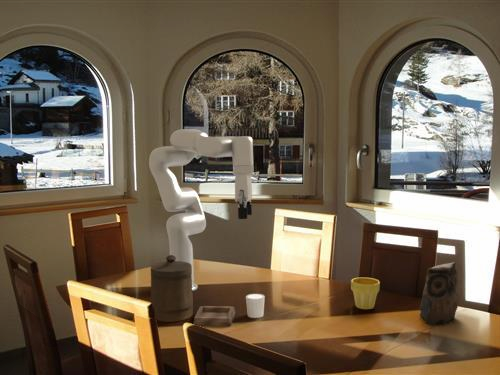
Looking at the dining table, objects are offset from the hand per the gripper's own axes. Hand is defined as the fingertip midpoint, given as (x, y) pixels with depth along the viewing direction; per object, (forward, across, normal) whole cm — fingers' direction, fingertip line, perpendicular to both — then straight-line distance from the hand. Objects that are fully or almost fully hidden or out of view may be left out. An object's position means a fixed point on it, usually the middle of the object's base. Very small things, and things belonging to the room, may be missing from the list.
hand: (245, 216), depth 205 cm
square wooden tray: (+34, +14, -10) cm, 38 cm away
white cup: (+35, +8, +4) cm, 36 cm away
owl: (+36, +4, +66) cm, 76 cm away
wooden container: (+34, +11, -26) cm, 44 cm away
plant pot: (+36, -6, +43) cm, 56 cm away
